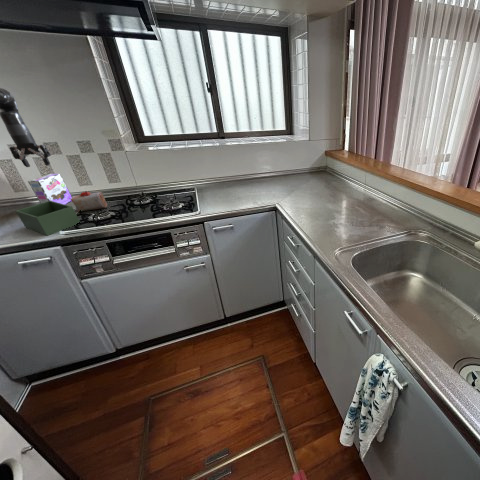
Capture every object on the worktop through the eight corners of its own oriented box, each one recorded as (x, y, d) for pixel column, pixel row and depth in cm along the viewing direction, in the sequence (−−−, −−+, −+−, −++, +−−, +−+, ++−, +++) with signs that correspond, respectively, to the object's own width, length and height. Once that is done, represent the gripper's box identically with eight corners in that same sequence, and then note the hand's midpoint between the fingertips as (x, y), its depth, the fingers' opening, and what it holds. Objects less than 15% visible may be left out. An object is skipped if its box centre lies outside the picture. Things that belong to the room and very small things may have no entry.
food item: (75, 213, 142) (66, 196, 137) (79, 208, 148) (71, 191, 143) (106, 209, 147) (98, 192, 142) (108, 204, 153) (101, 187, 148)
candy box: (53, 209, 147) (37, 180, 138) (43, 209, 147) (26, 180, 139) (74, 200, 159) (60, 173, 150) (64, 200, 159) (50, 173, 150)
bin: (25, 227, 128) (14, 210, 124) (59, 216, 139) (50, 200, 134) (47, 235, 121) (36, 217, 116) (80, 223, 131) (72, 206, 127)
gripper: (41, 131, 138) (57, 163, 146) (7, 133, 135) (26, 165, 143) (33, 133, 132) (50, 166, 140) (-3, 135, 128) (17, 169, 137)
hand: (38, 166), depth 141 cm, fingers open, 8 cm apart
